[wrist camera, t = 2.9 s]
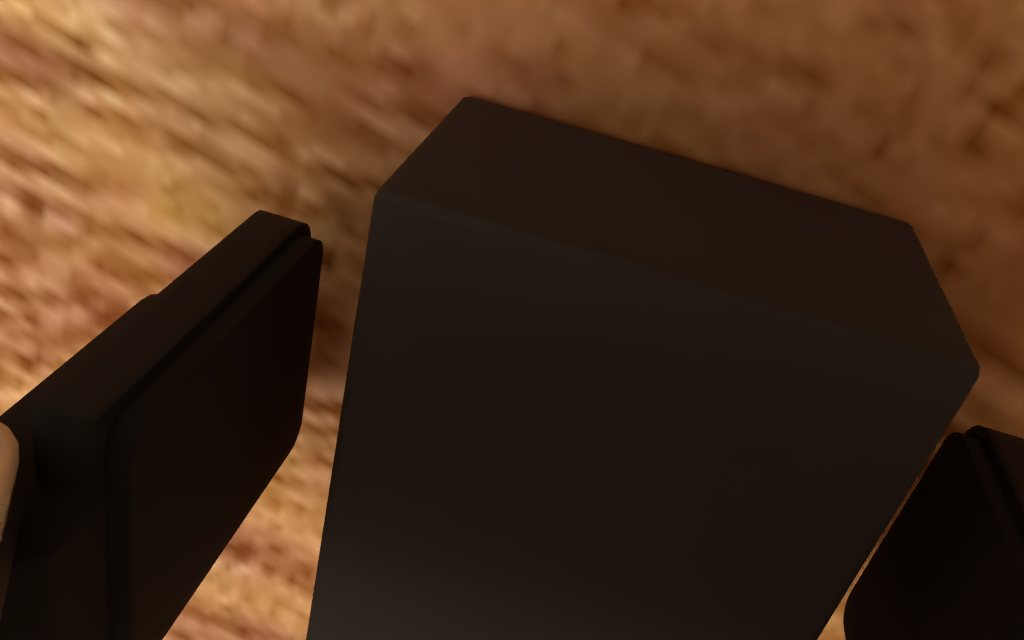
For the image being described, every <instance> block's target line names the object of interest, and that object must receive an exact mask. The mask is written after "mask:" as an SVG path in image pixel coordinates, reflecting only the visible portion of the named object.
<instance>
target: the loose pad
mask: <svg viewBox="0 0 1024 640" xmlns="http://www.w3.org/2000/svg"><path fill="white" fill-rule="evenodd" d="M979 369H980V366H979V364H978V362H977V360H976V358H975V356H974V354H973V352H972V350H971V348H970V346H969V344H968V341H967V339H966V337H965V335H964V333H963V331H962V329H961V327H960V325H959V323H958V321H957V319H956V317H955V315H954V312H953V310H952V308H951V306H950V304H949V302H948V300H947V298H946V296H945V294H944V292H943V290H942V288H941V286H940V283H939V281H938V279H937V277H936V275H935V273H934V271H933V269H932V267H931V265H930V263H929V261H928V259H927V257H926V254H925V252H924V250H923V248H922V246H921V244H920V242H919V240H918V238H917V236H916V234H915V232H914V230H913V228H912V226H911V225H909V224H908V223H907V222H903V221H900V220H897V219H893V218H890V217H886V216H883V215H879V214H876V213H872V212H869V211H865V210H862V209H858V208H855V207H851V206H848V205H844V204H841V203H837V202H834V201H830V200H827V199H824V198H820V197H817V196H813V195H810V194H806V193H803V192H799V191H796V190H792V189H789V188H785V187H782V186H778V185H775V184H771V183H768V182H764V181H761V180H757V179H754V178H751V177H747V176H744V175H740V174H737V173H733V172H730V171H726V170H723V169H719V168H716V167H712V166H709V165H705V164H702V163H698V162H695V161H691V160H688V159H684V158H681V157H677V156H674V155H671V154H667V153H664V152H660V151H657V150H653V149H650V148H646V147H643V146H639V145H636V144H632V143H629V142H625V141H622V140H618V139H615V138H611V137H608V136H604V135H601V134H598V133H594V132H591V131H587V130H584V129H580V128H577V127H573V126H570V125H566V124H563V123H559V122H556V121H552V120H549V119H545V118H542V117H538V116H535V115H531V114H528V113H525V112H521V111H518V110H514V109H511V108H507V107H504V106H500V105H497V104H493V103H490V102H486V101H483V100H479V99H476V98H472V97H466V98H463V99H462V100H461V101H460V102H459V103H458V104H457V105H456V106H455V108H454V109H453V110H452V111H451V112H450V113H449V114H448V115H447V116H446V117H445V118H444V119H443V121H442V122H441V123H440V124H439V125H438V126H437V127H436V128H435V129H434V130H433V131H432V132H431V134H430V135H429V136H428V137H427V138H426V139H425V140H424V141H423V142H422V143H421V144H420V145H419V147H418V148H417V149H416V150H415V151H414V152H413V153H412V154H411V155H410V156H409V157H408V158H407V159H406V161H405V162H404V163H403V164H402V165H401V166H400V167H399V168H398V169H397V170H396V171H395V172H394V174H393V175H392V176H391V177H390V178H389V179H388V180H387V181H386V182H385V183H384V184H383V185H382V187H381V188H380V189H379V190H378V192H377V193H376V194H375V196H374V203H373V209H372V216H371V222H370V229H369V235H368V242H367V248H366V255H365V261H364V268H363V274H362V281H361V287H360V294H359V300H358V307H357V313H356V320H355V326H354V333H353V339H352V346H351V352H350V359H349V365H348V372H347V378H346V385H345V391H344V398H343V404H342V411H341V417H340V424H339V430H338V437H337V443H336V450H335V456H334V463H333V469H332V476H331V482H330V489H329V495H328V502H327V508H326V515H325V521H324V528H323V534H322V541H321V547H320V554H319V560H318V567H317V573H316V580H315V586H314V593H313V599H312V606H311V612H310V619H309V625H308V632H307V638H306V640H817V639H818V637H819V636H820V634H821V632H822V631H823V629H824V627H825V626H826V624H827V623H828V621H829V619H830V618H831V616H832V614H833V613H834V611H835V610H836V608H837V606H838V605H839V603H840V601H841V600H842V598H843V597H844V595H845V593H846V592H847V590H848V588H849V587H850V585H851V584H852V582H853V580H854V579H855V577H856V575H857V574H858V572H859V571H860V569H861V567H862V566H863V564H864V562H865V561H866V559H867V558H868V556H869V554H870V553H871V551H872V549H873V548H874V546H875V545H876V543H877V541H878V540H879V538H880V536H881V535H882V533H883V532H884V530H885V528H886V527H887V525H888V523H889V522H890V520H891V519H892V517H893V515H894V514H895V512H896V511H897V509H898V507H899V506H900V504H901V502H902V501H903V499H904V498H905V496H906V494H907V493H908V491H909V489H910V488H911V486H912V485H913V483H914V481H915V480H916V478H917V476H918V475H919V473H920V472H921V470H922V468H923V467H924V465H925V463H926V462H927V460H928V459H929V457H930V455H931V454H932V452H933V450H934V449H935V447H936V446H937V444H938V442H939V441H940V439H941V437H942V436H943V434H944V433H945V431H946V429H947V428H948V426H949V424H950V423H951V421H952V420H953V418H954V416H955V415H956V413H957V411H958V410H959V408H960V407H961V405H962V403H963V402H964V400H965V398H966V397H967V395H968V394H969V392H970V390H971V389H972V387H973V385H974V384H975V382H976V381H977V379H978V376H979Z"/></svg>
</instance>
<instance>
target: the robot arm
mask: <svg viewBox="0 0 1024 640" xmlns="http://www.w3.org/2000/svg"><path fill="white" fill-rule="evenodd" d="M322 258H323V244H322V242H321V241H320V240H317V239H313V238H311V232H310V227H309V226H308V224H306V223H303V222H300V221H296V220H293V219H290V218H286V217H283V216H280V215H276V214H273V213H270V212H266V211H262V210H259V211H257V212H255V213H254V214H253V215H252V216H250V217H249V218H248V219H247V220H246V221H245V222H243V223H242V224H241V225H240V226H239V227H237V228H236V229H235V230H234V231H233V232H231V233H230V234H229V235H228V236H227V237H225V238H224V239H223V240H222V241H221V242H219V243H218V244H217V245H216V246H215V247H213V248H212V249H211V250H210V251H209V252H208V253H206V254H205V255H204V256H203V257H202V258H200V259H199V260H198V261H197V262H196V263H194V264H193V265H192V266H191V267H190V268H188V269H187V270H186V271H185V272H184V273H182V274H181V275H180V276H179V277H178V278H176V279H175V280H174V281H173V282H172V283H171V284H169V285H168V286H167V287H166V288H165V289H163V290H162V291H161V292H160V293H159V294H152V295H149V296H147V297H146V298H144V299H142V300H141V301H139V302H138V303H137V304H136V305H135V306H133V307H132V308H131V309H130V310H129V311H127V312H126V313H125V314H124V315H122V316H121V317H120V318H119V319H118V320H116V321H115V322H114V323H113V324H112V325H110V326H109V327H108V328H107V329H105V330H104V331H103V332H102V333H101V334H99V335H98V336H97V337H96V338H95V339H93V340H92V341H91V342H90V343H89V344H87V345H86V346H85V347H84V348H82V349H81V350H80V351H79V352H78V353H76V354H75V355H74V356H73V357H72V358H70V359H69V360H68V361H67V362H65V363H64V364H63V365H62V366H61V367H59V368H58V369H57V370H56V371H55V372H53V373H52V374H51V375H50V376H48V377H47V378H46V379H45V380H44V381H42V382H41V383H40V384H39V385H38V386H36V387H35V388H34V389H33V390H31V391H30V392H29V393H28V394H27V395H25V396H24V397H23V398H22V399H21V400H19V401H18V402H17V403H16V404H14V405H13V406H12V407H11V408H10V409H8V410H7V411H6V412H5V413H4V414H2V415H1V416H0V640H162V639H163V638H164V636H165V635H166V633H167V632H168V631H169V629H170V628H171V626H172V625H173V623H174V622H175V620H176V619H177V617H178V616H179V614H180V613H181V611H182V610H183V609H184V607H185V606H186V604H187V603H188V601H189V600H190V598H191V597H192V595H193V594H194V592H195V591H196V589H197V588H198V586H199V585H200V584H201V582H202V581H203V579H204V578H205V576H206V575H207V573H208V572H209V570H210V569H211V567H212V566H213V564H214V563H215V562H216V560H217V559H218V557H219V556H220V554H221V553H222V551H223V550H224V548H225V547H226V545H227V544H228V542H229V541H230V540H231V538H232V537H233V535H234V534H235V532H236V531H237V529H238V528H239V526H240V525H241V523H242V522H243V520H244V519H245V517H246V516H247V515H248V513H249V512H250V510H251V509H252V507H253V506H254V504H255V503H256V501H257V500H258V498H259V497H260V495H261V494H262V493H263V491H264V490H265V488H266V487H267V485H268V484H269V482H270V481H271V479H272V478H273V476H274V475H275V473H276V472H277V470H278V469H279V468H280V466H281V465H282V463H283V462H284V460H285V459H286V457H287V456H288V454H289V453H290V451H291V450H292V448H293V446H294V444H295V442H296V439H297V437H298V434H299V431H300V427H301V422H302V416H303V408H304V400H305V392H306V384H307V376H308V368H309V360H310V352H311V345H312V337H313V329H314V321H315V313H316V305H317V297H318V289H319V281H320V273H321V265H322ZM843 623H844V632H845V638H846V640H1024V439H1023V438H1020V437H1017V436H1013V435H1010V434H1007V433H1003V432H1000V431H997V430H993V429H990V428H987V427H983V426H980V425H977V426H973V427H971V428H970V429H969V430H968V431H966V432H965V434H962V433H958V432H955V433H952V434H950V435H949V436H948V437H947V438H946V439H945V441H944V442H943V444H942V445H941V447H940V448H939V450H938V452H937V453H936V455H935V457H934V458H933V460H932V461H931V463H930V465H929V466H928V468H927V470H926V471H925V473H924V474H923V476H922V478H921V479H920V481H919V483H918V484H917V486H916V487H915V489H914V491H913V492H912V494H911V495H910V497H909V499H908V500H907V502H906V504H905V505H904V507H903V508H902V510H901V512H900V513H899V515H898V517H897V518H896V520H895V521H894V523H893V525H892V526H891V528H890V529H889V531H888V533H887V534H886V536H885V538H884V539H883V541H882V542H881V544H880V546H879V547H878V549H877V551H876V552H875V554H874V555H873V557H872V559H871V560H870V562H869V564H868V565H867V567H866V568H865V570H864V572H863V573H862V575H861V576H860V578H859V580H858V581H857V583H856V585H855V586H854V588H853V589H852V591H851V593H850V595H849V597H848V599H847V602H846V606H845V610H844V619H843Z"/></svg>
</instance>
